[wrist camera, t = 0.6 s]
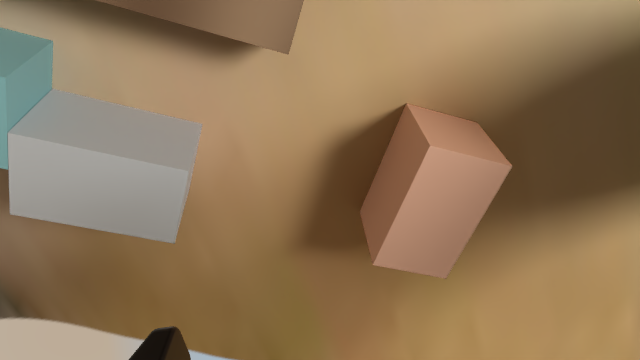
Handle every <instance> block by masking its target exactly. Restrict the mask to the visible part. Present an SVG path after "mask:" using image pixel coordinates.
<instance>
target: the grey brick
mask: <svg viewBox="0 0 640 360" xmlns="http://www.w3.org/2000/svg"><path fill="white" fill-rule="evenodd" d="M201 129H202V124H200V123H196V122H192V121H188V120H183V119H179V118H175V117H171V116H166V115H162V114H158V113H154V112H149V111H145V110H141V109H137V108H132V107H128V106H124V105H120V104H115V103H111V102H107V101H103V100H98V99H94V98H90V97H86V96H81V95H77V94H73V93H69V92H64V91H60V90H56V89H52V90H51V91H50V92H49V93H48V94H47V95H46V96H44V97H43V98H42V99H41V100H40V101H39V102H38V103H37V104H36V105H35V106H34V107H33V108H32V109H31V110H30V111H29V112H28V113H27V114H26V115H25V116H24V117H23V118H22V119H21V120H20V121H19V122H18V123H17V124H16V125H15V126H14V127H13V128H12V129H11V130H10V131H9V132H8V166H9V203H10V214H11V215H17V216H22V217H28V218H34V219H39V220H45V221H50V222H56V223H62V224H67V225H73V226H78V227H84V228H90V229H95V230H101V231H106V232H112V233H118V234H123V235H129V236H135V237H140V238H146V239H151V240H157V241H163V242H168V243H174V244H175V240H176V237H177V233H178V229H179V225H180V222H181V218H182V214H183V211H184V207H185V203H186V199H187V196H188V192H189V188H190V183H191V178H192V173H193V168H194V163H195V158H196V153H197V148H198V143H199V138H200V134H201Z"/></svg>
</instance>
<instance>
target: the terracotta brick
mask: <svg viewBox="0 0 640 360" xmlns="http://www.w3.org/2000/svg"><path fill="white" fill-rule="evenodd" d="M511 168H512V165H511V164H510V163H509V161H508V160H507V159H506V158H505V156H504V155H503V154H502V153H501V151H500V150H499V149H498V148H497V147H496V145H495V144H494V143H493V142H492V140H491V139H490V138H489V137H488V135H487V134H486V133H485V132H484V130H483V129H482V128H481V127H480V125H479V124H478V123H477V122H474V121H470V120H466V119H463V118H459V117H455V116H452V115H448V114H444V113H440V112H437V111H433V110H429V109H426V108H422V107H418V106H414V105H411V104H407V103H406V105H405V108H404V110H403V112H402V115H401V117H400V119H399V122H398V124H397V126H396V128H395V131H394V133H393V135H392V138H391V140H390V142H389V145H388V147H387V149H386V152H385V154H384V156H383V159H382V161H381V163H380V166H379V168H378V170H377V173H376V175H375V177H374V180H373V182H372V184H371V187H370V189H369V191H368V194H367V196H366V198H365V201H364V203H363V205H362V207H361V210H360V215H361V219H362V223H363V227H364V231H365V235H366V239H367V243H368V247H369V251H370V255H371V259H372V263H373V265H376V266H381V267H387V268H392V269H397V270H403V271H408V272H413V273H419V274H424V275H429V276H435V277H440V278H445V279H446V278H447V276H448V274H449V273H450V271H451V269H452V268H453V266H454V264H455V262H456V261H457V259H458V257H459V256H460V254H461V252H462V251H463V249H464V247H465V246H466V244H467V242H468V241H469V239H470V237H471V235H472V234H473V232H474V230H475V229H476V227H477V225H478V224H479V222H480V220H481V219H482V217H483V215H484V214H485V212H486V210H487V208H488V207H489V205H490V203H491V202H492V200H493V198H494V197H495V195H496V193H497V192H498V190H499V188H500V187H501V185H502V183H503V181H504V180H505V178H506V176H507V175H508V173H509V171H510V170H511Z"/></svg>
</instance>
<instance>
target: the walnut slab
mask: <svg viewBox="0 0 640 360" xmlns="http://www.w3.org/2000/svg"><path fill="white" fill-rule="evenodd" d="M96 1H100V2H103V3H107V4H110V5H114V6H118V7H121V8H125V9H128V10H132V11H135V12H139V13H142V14H146V15H150V16H153V17H157V18H160V19H164V20H167V21H171V22H174V23H178V24H182V25H185V26H189V27H192V28H196V29H199V30H203V31H206V32H210V33H214V34H217V35H221V36H224V37H228V38H231V39H235V40H238V41H242V42H246V43H249V44H253V45H256V46H260V47H263V48H267V49H270V50H274V51H277V52H281V53H285V54H289V51H290V47H291V44H292V40H293V36H294V33H295V29H296V26H297V22H298V19H299V15H300V12H301V8H302V5H303V1H304V0H96Z"/></svg>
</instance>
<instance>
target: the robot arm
mask: <svg viewBox="0 0 640 360" xmlns="http://www.w3.org/2000/svg"><path fill="white" fill-rule="evenodd" d="M129 360H191V358H190V354H189V352H188V349H187V347H186V344H185V342H184V340H183V337H182V335H181V332H180V330H179V329H178V328H177V327H174V326H173V327H165V328H158V329H155V330H154V331H152V332H151V333H150V334H149V336H148V337H147V338H146V339H145V341H144V342H143V343H142V344H141V346H140V347H139V348H138V349H137V350H136V352H135V353H134V354H133V355H132V356H131V358H130V359H129Z"/></svg>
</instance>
